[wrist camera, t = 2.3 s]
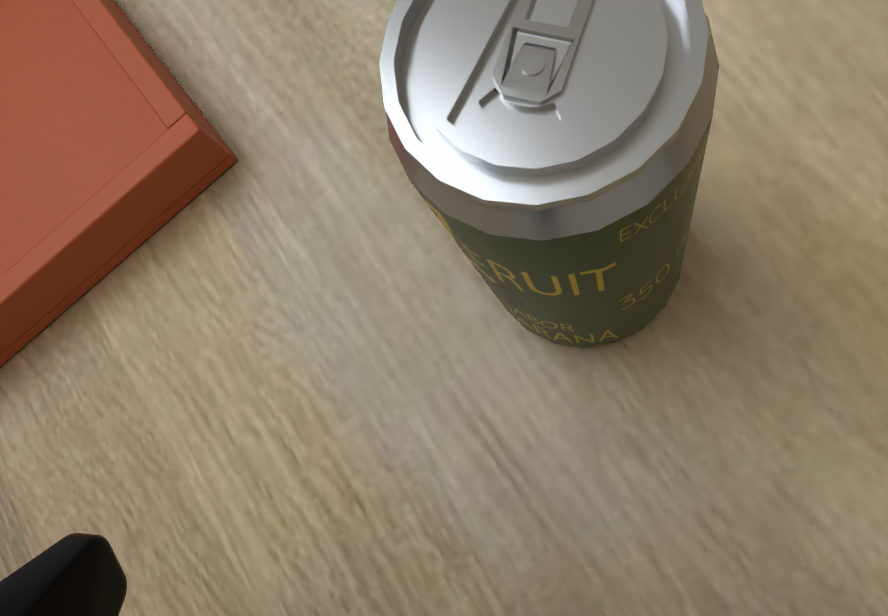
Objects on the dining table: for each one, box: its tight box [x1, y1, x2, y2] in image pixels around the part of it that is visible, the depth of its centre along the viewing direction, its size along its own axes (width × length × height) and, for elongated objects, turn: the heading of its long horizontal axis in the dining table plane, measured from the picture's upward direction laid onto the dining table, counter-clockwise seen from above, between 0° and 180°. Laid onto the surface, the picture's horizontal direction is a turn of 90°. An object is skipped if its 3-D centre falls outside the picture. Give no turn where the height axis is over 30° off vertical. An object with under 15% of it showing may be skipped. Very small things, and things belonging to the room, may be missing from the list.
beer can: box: [379, 0, 719, 347], centre depth 18 cm, size 5×5×12 cm
